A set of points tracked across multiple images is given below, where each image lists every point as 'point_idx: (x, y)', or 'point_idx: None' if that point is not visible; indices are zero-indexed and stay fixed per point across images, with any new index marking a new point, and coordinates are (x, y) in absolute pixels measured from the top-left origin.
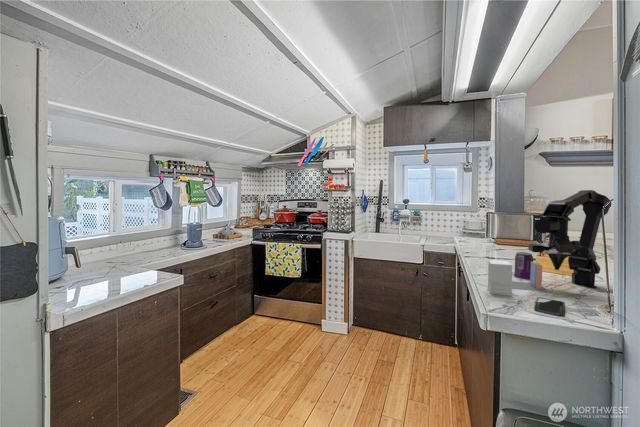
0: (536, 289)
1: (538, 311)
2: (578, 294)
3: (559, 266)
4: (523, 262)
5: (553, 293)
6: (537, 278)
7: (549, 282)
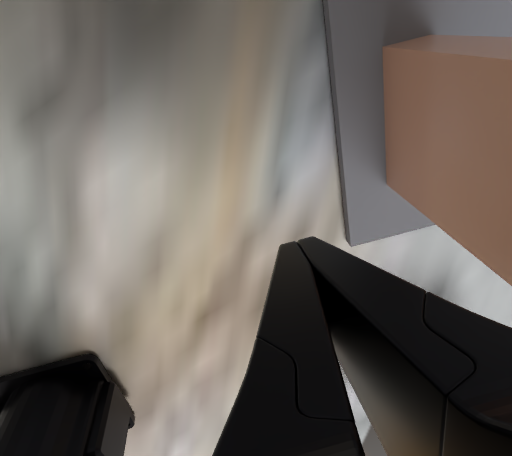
0: (432, 6)
1: None
2: (83, 109)
3: (286, 275)
4: None
5: (289, 3)
6: (500, 41)
7: None
